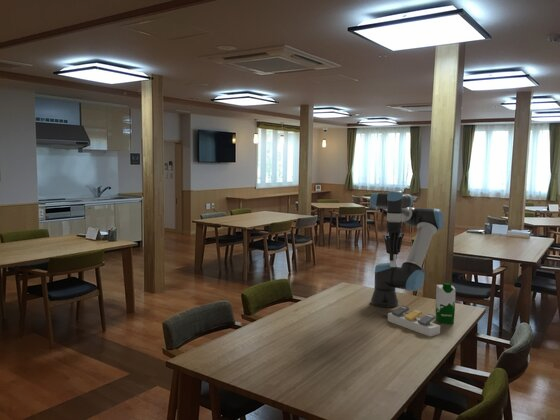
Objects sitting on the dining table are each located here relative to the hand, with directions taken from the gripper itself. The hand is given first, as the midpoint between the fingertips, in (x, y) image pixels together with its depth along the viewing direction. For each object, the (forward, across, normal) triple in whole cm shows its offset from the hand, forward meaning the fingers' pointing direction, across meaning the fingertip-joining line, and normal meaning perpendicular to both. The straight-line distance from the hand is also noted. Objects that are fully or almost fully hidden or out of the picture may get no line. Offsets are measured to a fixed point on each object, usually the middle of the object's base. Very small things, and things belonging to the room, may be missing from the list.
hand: (392, 266), depth 241 cm
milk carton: (+27, -17, +20) cm, 37 cm away
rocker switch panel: (+26, +3, +13) cm, 30 cm away
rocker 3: (+20, +4, +25) cm, 32 cm away
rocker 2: (+20, +4, +17) cm, 27 cm away
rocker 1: (+20, +4, +9) cm, 23 cm away
